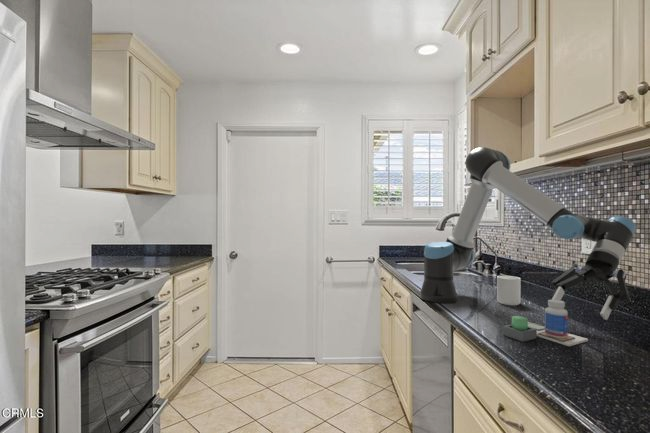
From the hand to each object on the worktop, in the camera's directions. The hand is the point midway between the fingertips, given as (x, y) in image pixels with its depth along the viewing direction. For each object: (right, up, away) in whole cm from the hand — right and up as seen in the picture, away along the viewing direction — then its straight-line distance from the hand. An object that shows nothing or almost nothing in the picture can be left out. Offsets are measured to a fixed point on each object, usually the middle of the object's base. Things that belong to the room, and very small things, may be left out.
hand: (576, 310), depth 101 cm
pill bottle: (-9, -6, -4) cm, 12 cm away
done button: (-19, -5, -3) cm, 19 cm away
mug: (0, -7, +37) cm, 38 cm away
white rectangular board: (-9, -7, -1) cm, 11 cm away
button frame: (-19, -7, -3) cm, 20 cm away
